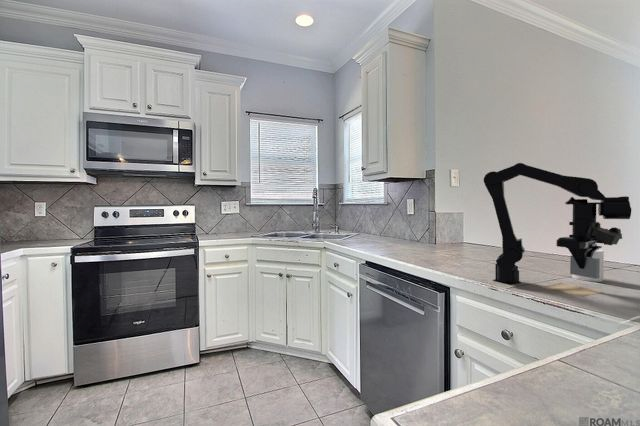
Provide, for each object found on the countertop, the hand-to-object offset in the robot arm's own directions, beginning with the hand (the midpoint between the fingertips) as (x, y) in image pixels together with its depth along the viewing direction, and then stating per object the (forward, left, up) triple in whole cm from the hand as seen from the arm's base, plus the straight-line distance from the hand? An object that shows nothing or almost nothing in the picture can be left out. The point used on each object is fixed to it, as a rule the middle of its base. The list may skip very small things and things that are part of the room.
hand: (583, 268), depth 100 cm
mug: (-8, +18, -7) cm, 21 cm away
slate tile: (0, 0, -2) cm, 2 cm away
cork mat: (-2, -3, -7) cm, 8 cm away
